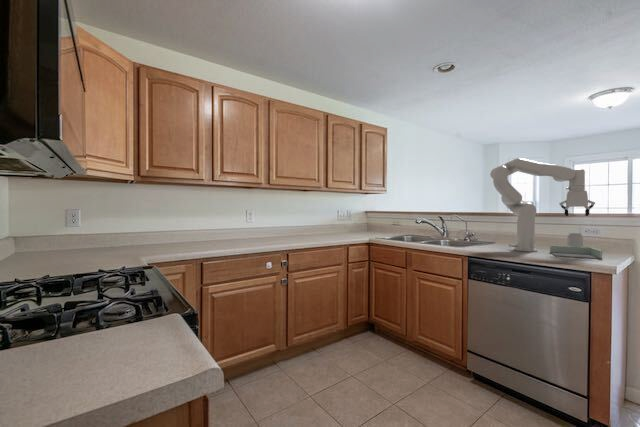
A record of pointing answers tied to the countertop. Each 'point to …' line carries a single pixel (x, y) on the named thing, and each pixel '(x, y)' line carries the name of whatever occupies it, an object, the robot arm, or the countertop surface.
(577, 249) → the arena
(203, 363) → the countertop surface
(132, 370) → the countertop surface
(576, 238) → the can
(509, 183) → the robot arm
